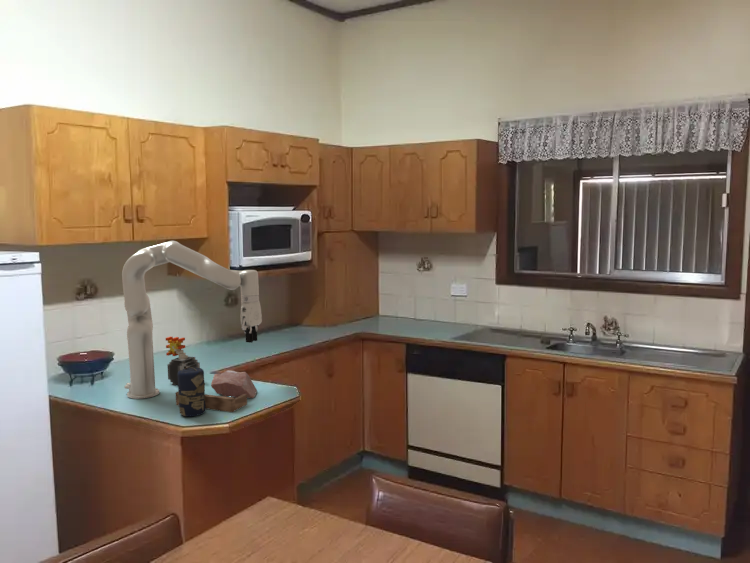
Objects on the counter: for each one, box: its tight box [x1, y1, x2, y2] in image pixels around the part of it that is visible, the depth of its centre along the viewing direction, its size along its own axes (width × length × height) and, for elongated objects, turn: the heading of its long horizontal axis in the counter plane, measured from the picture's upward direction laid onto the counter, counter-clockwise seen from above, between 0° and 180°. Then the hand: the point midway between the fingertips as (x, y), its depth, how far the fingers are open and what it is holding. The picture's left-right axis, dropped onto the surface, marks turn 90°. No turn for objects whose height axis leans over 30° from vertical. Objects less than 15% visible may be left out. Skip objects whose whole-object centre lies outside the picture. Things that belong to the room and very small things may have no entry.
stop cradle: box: [175, 391, 248, 413], centre depth 257 cm, size 26×10×5 cm, turn 68°
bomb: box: [165, 336, 201, 386], centre depth 287 cm, size 8×13×20 cm, turn 67°
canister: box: [177, 367, 207, 417], centre depth 245 cm, size 10×10×18 cm
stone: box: [210, 369, 258, 399], centre depth 271 cm, size 8×20×13 cm
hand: (251, 341), depth 282 cm, fingers open, 2 cm apart
